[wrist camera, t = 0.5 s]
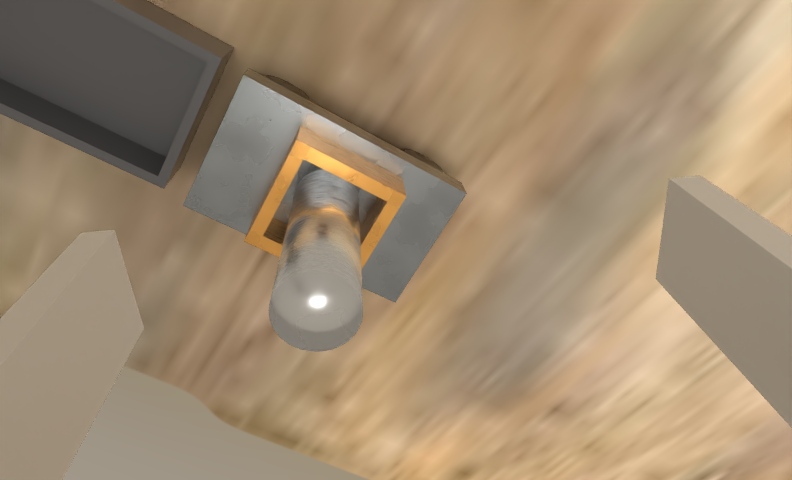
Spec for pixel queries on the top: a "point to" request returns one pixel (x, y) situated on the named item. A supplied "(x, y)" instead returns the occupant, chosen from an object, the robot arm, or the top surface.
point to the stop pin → (319, 266)
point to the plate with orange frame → (334, 152)
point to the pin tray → (109, 78)
